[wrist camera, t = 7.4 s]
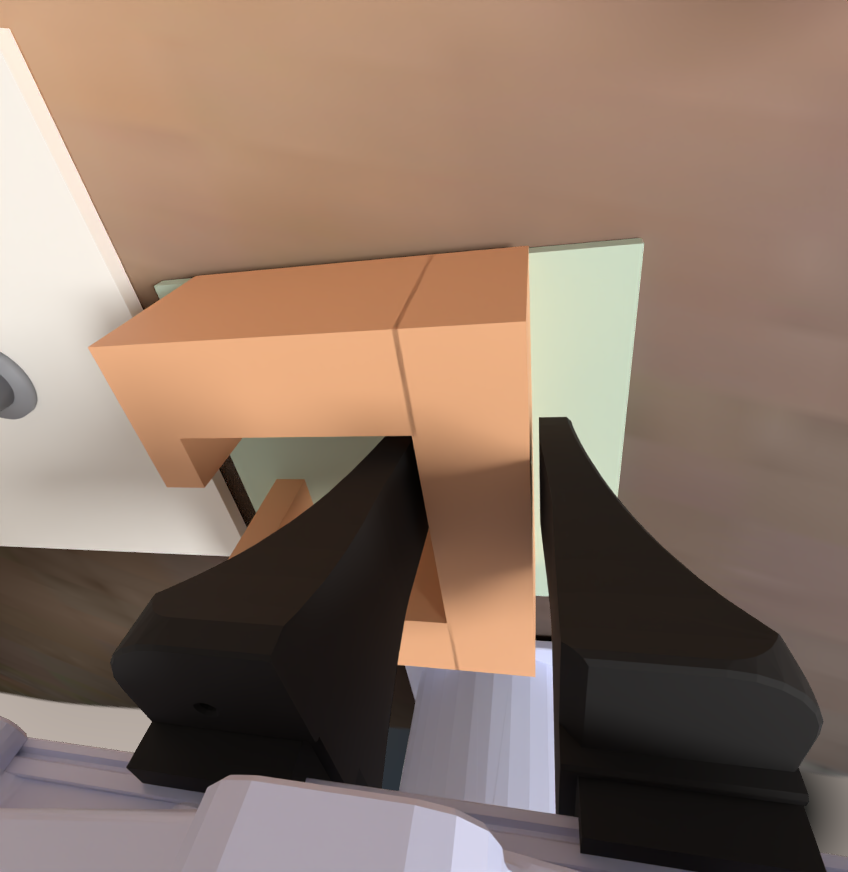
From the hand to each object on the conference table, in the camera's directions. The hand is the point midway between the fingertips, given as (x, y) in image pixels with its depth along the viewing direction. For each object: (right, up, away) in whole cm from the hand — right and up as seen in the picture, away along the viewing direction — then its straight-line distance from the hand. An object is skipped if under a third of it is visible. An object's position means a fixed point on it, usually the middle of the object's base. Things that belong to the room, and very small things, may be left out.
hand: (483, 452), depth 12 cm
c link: (-2, 0, +3) cm, 4 cm away
